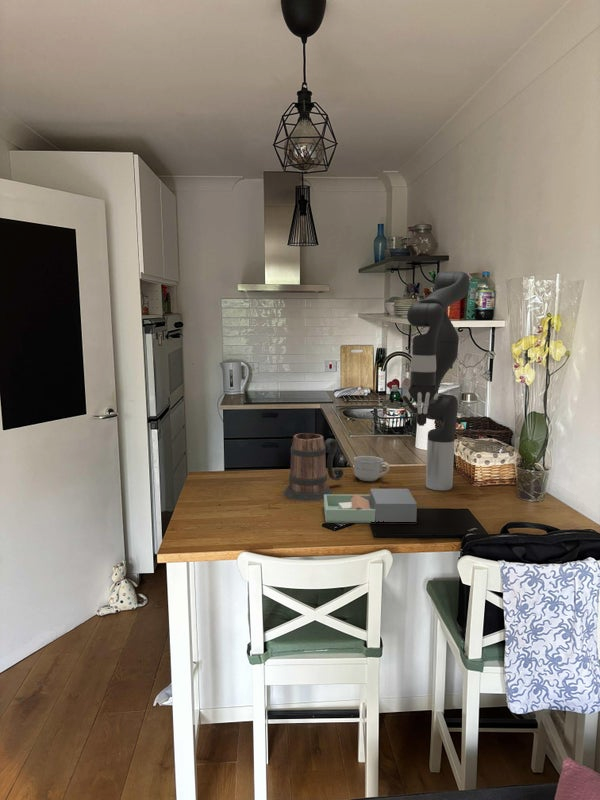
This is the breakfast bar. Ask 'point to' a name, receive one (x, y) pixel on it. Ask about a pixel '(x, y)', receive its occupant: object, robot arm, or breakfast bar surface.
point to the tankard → (311, 467)
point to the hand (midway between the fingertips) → (421, 425)
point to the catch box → (346, 510)
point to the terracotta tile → (359, 502)
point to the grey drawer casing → (393, 505)
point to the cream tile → (345, 505)
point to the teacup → (369, 467)
